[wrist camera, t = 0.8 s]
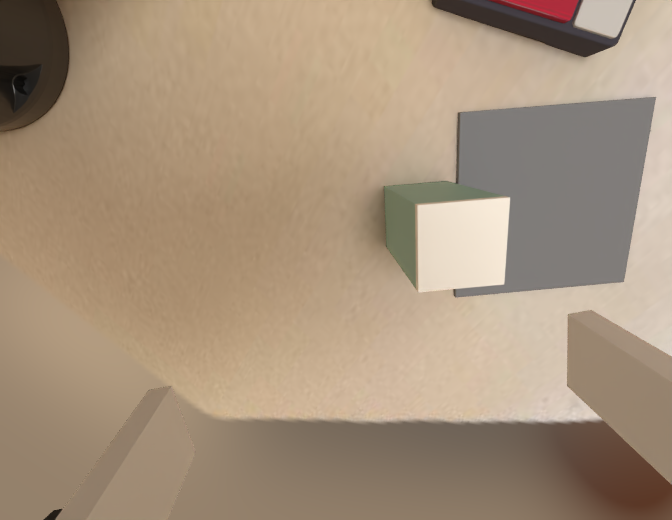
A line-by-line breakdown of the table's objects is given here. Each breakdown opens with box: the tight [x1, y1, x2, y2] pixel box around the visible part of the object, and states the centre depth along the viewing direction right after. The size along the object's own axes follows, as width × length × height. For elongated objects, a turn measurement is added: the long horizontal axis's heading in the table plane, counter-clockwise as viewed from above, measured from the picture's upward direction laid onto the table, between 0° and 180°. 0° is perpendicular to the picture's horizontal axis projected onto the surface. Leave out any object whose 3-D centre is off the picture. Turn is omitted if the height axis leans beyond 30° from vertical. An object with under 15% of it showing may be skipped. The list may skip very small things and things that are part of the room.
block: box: [384, 181, 510, 292], centre depth 30 cm, size 6×6×12 cm
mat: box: [454, 97, 656, 297], centre depth 35 cm, size 18×18×1 cm
